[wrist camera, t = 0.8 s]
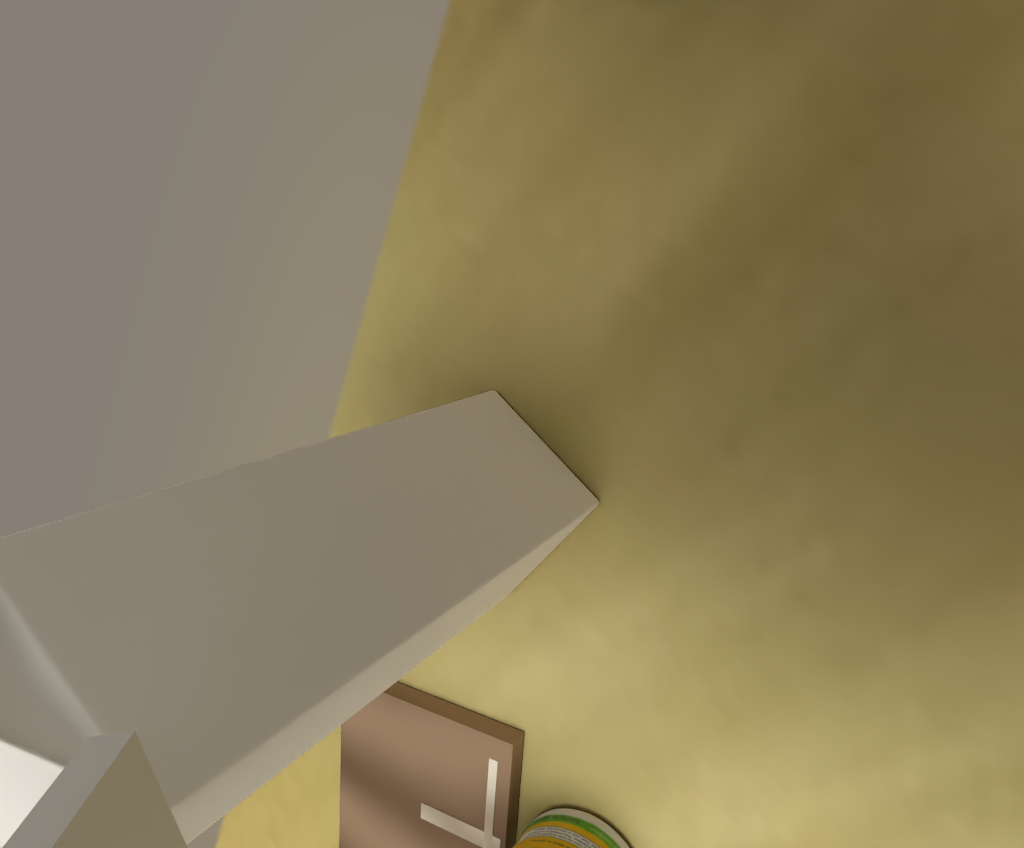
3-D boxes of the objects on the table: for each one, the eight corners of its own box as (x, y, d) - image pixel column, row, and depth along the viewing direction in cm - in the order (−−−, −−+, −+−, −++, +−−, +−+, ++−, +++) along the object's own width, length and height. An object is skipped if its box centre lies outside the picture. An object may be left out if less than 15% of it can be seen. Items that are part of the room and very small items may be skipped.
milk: (602, 501, 29) (-37, 973, 10) (508, 596, 32) (-133, 1107, 13) (492, 385, 30) (-260, 608, 11) (411, 486, 33) (-303, 801, 14)
